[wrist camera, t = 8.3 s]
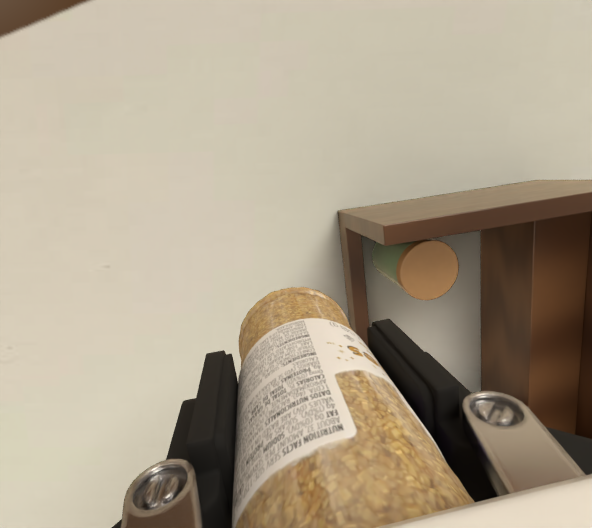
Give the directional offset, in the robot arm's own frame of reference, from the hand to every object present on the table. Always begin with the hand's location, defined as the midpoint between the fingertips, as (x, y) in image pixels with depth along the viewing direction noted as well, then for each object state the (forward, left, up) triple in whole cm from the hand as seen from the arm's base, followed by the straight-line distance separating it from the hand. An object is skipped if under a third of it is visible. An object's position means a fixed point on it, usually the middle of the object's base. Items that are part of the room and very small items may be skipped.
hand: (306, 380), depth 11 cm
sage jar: (+2, +11, -19) cm, 22 cm away
